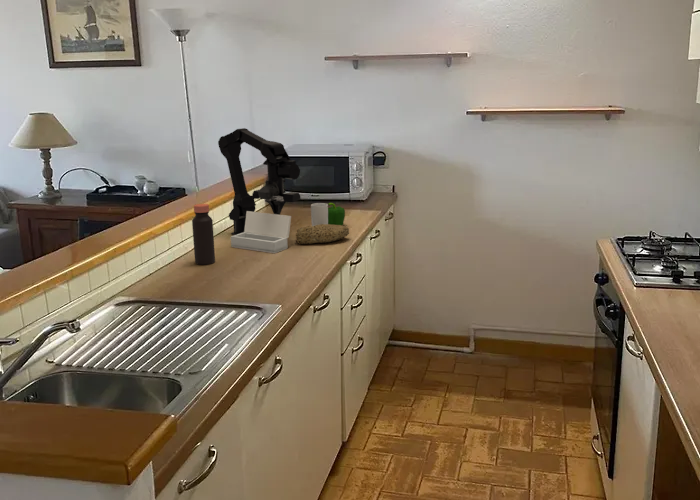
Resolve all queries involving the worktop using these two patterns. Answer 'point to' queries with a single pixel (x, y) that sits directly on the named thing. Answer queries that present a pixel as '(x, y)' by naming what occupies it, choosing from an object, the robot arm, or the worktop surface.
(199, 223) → the bottle
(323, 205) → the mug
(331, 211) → the bell pepper
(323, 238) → the rock
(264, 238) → the cable tray
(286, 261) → the worktop surface
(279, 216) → the lid
